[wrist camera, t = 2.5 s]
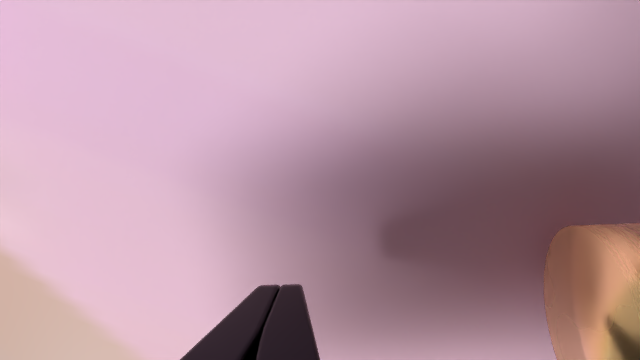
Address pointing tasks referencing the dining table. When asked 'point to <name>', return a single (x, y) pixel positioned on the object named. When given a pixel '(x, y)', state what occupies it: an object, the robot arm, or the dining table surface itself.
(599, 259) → the pin
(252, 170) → the dining table surface
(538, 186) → the dining table surface
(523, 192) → the dining table surface
